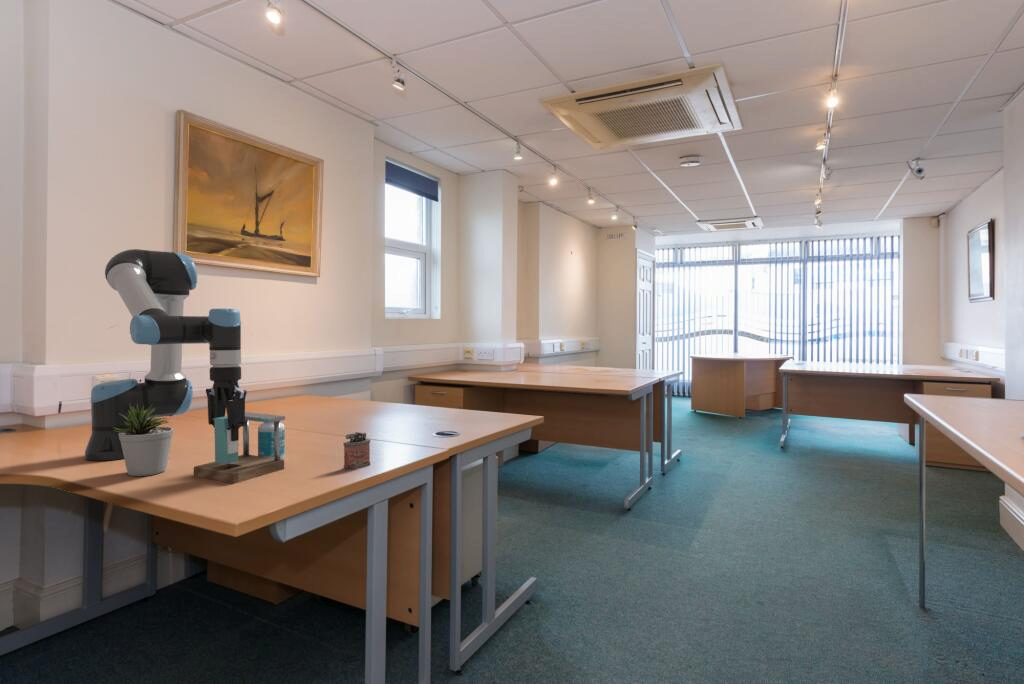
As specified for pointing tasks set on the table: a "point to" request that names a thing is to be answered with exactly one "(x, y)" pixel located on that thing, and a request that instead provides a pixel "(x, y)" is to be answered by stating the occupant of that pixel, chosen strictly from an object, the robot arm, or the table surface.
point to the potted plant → (145, 443)
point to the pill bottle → (270, 440)
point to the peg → (222, 442)
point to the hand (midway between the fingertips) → (226, 451)
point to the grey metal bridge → (267, 419)
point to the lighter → (356, 451)
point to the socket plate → (239, 469)
